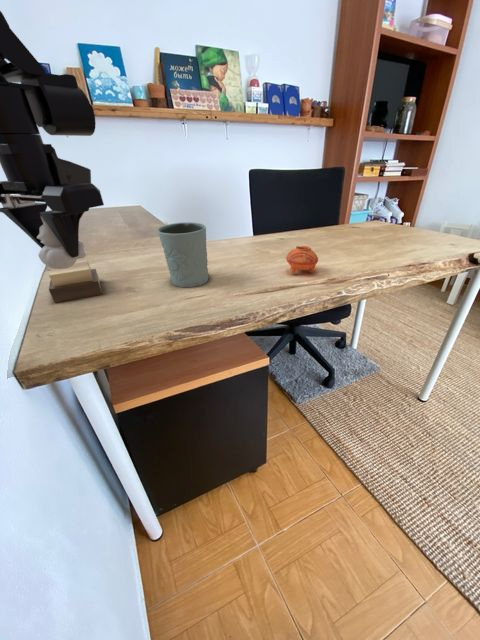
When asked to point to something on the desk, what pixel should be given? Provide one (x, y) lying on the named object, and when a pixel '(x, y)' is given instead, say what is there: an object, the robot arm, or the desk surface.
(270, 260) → the desk surface
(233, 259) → the desk surface
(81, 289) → the memo paper holder
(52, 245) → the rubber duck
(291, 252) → the pot
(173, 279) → the grey green cup
